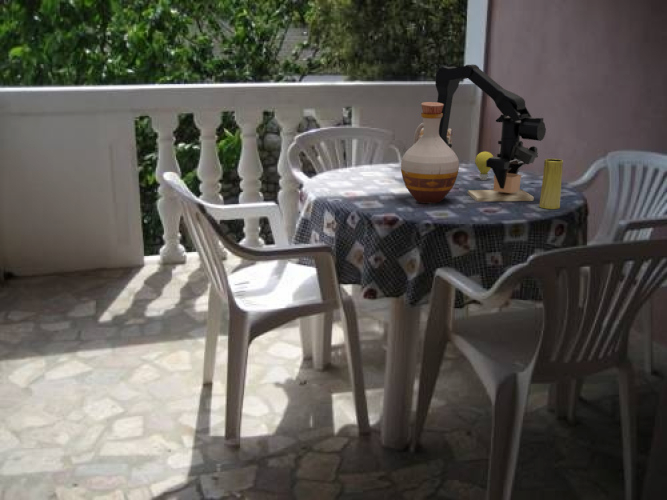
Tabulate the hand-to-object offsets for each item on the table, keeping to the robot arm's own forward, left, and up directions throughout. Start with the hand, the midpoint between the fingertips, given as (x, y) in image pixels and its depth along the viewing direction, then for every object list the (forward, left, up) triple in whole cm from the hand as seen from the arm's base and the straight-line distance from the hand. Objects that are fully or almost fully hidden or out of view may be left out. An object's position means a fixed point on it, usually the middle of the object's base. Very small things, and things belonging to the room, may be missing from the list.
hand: (506, 186), depth 227 cm
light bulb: (+1, +29, -4) cm, 29 cm away
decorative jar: (-13, +47, -4) cm, 49 cm away
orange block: (0, 0, -1) cm, 1 cm away
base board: (-2, 0, -3) cm, 4 cm away
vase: (+9, -14, -4) cm, 17 cm away
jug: (-26, -2, -4) cm, 26 cm away
